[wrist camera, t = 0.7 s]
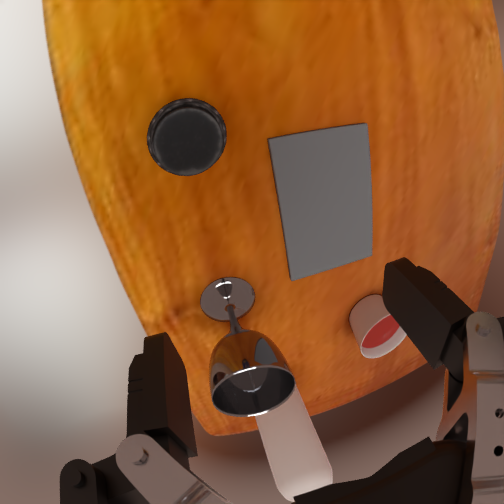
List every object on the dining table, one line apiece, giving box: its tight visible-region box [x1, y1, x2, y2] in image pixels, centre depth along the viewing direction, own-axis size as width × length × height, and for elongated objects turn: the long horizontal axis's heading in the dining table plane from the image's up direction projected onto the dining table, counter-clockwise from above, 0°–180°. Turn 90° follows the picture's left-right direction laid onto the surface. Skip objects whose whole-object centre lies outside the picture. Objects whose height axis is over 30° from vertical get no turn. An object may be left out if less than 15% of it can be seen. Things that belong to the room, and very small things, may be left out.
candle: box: [349, 294, 407, 358], centre depth 44 cm, size 9×9×6 cm
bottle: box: [255, 385, 333, 502], centre depth 36 cm, size 8×8×30 cm
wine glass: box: [200, 277, 296, 417], centre depth 33 cm, size 8×8×15 cm
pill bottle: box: [147, 98, 227, 176], centre depth 24 cm, size 6×6×11 cm
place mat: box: [267, 123, 372, 281], centre depth 36 cm, size 18×12×1 cm, turn 11°
